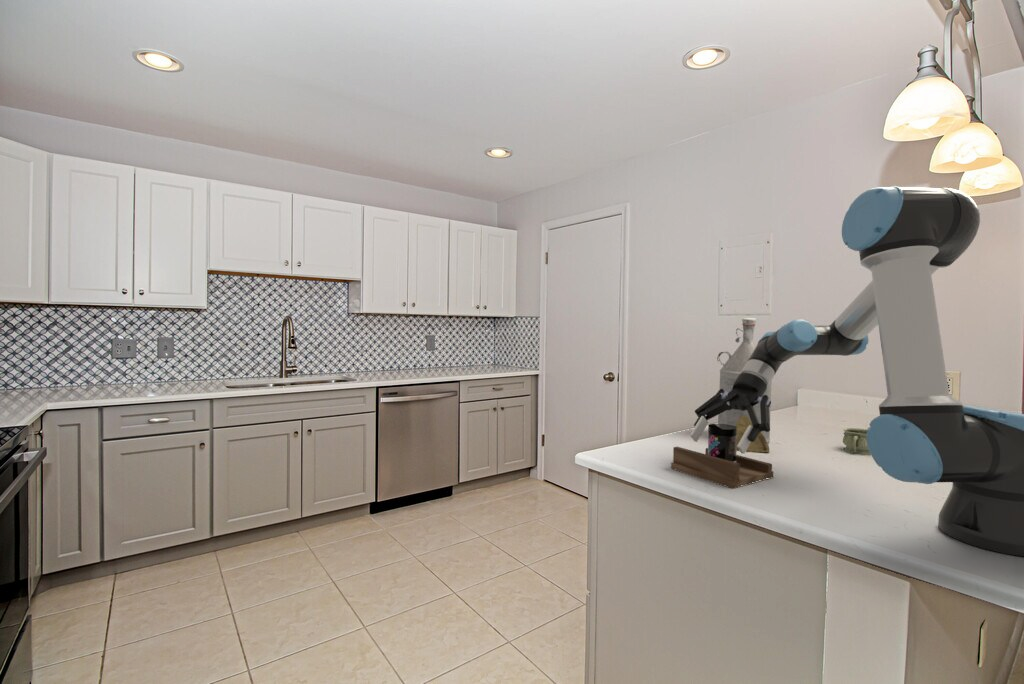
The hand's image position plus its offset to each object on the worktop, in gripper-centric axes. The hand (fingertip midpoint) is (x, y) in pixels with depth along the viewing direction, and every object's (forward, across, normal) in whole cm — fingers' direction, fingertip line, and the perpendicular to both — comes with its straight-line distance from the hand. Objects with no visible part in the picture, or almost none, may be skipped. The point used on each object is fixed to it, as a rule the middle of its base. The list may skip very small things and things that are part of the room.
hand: (715, 444), depth 125 cm
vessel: (-34, -8, -46) cm, 58 cm away
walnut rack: (+4, 0, -7) cm, 8 cm away
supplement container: (+3, 0, -6) cm, 7 cm away
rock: (-15, +10, -26) cm, 32 cm away
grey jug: (-23, +20, -34) cm, 46 cm away
